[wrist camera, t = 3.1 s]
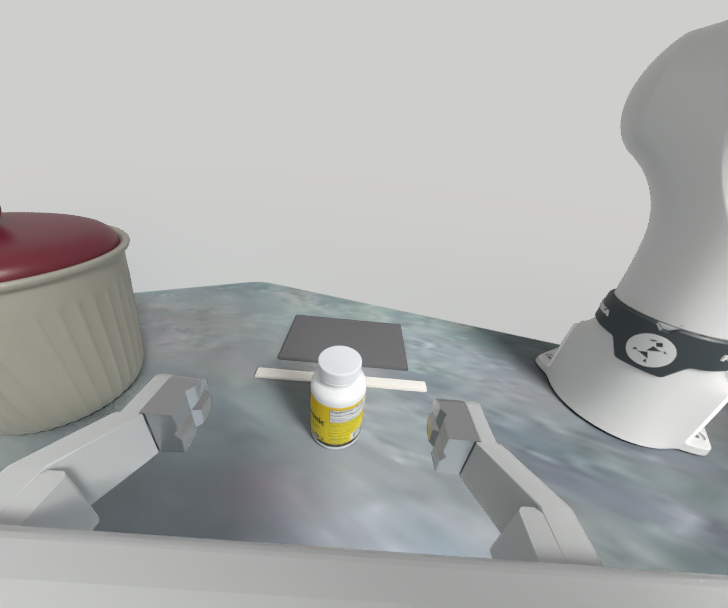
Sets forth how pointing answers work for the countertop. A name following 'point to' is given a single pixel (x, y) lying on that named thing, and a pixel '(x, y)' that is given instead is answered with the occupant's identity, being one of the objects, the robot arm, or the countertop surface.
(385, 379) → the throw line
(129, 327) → the canister
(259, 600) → the robot arm
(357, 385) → the supplement bottle
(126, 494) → the countertop surface
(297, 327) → the mat
